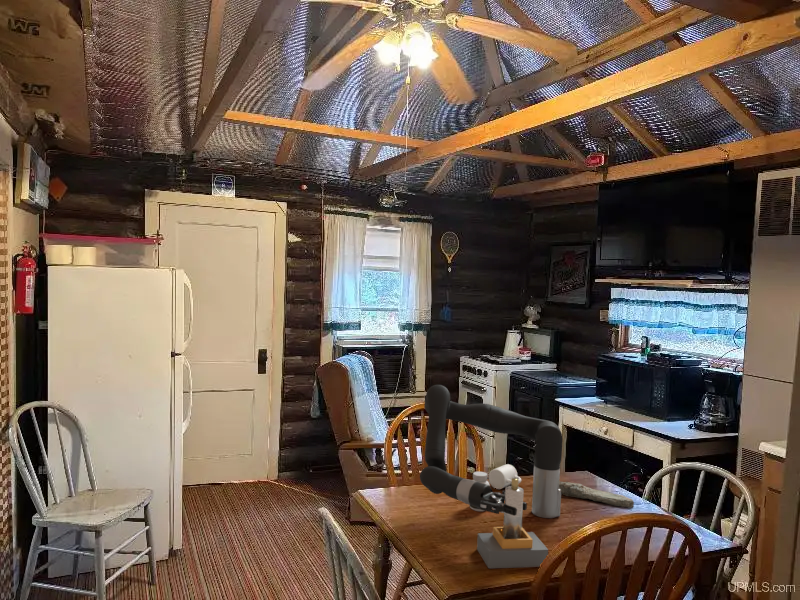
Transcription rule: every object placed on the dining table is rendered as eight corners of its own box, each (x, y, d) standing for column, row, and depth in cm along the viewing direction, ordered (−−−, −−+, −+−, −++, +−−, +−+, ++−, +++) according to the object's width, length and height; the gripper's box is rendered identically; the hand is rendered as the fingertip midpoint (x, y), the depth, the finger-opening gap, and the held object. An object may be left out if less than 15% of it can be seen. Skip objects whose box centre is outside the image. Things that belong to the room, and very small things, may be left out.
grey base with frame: (530, 545, 182) (531, 522, 181) (547, 566, 168) (548, 541, 168) (475, 546, 179) (476, 523, 179) (488, 568, 166) (489, 542, 165)
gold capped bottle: (517, 534, 176) (520, 476, 175) (523, 542, 170) (526, 482, 170) (500, 534, 175) (503, 476, 174) (506, 542, 170) (509, 482, 169)
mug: (487, 486, 234) (488, 467, 234) (500, 480, 242) (501, 462, 241) (513, 494, 226) (514, 474, 226) (526, 488, 234) (526, 469, 233)
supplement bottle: (479, 503, 215) (481, 469, 215) (492, 509, 210) (494, 475, 209) (465, 506, 211) (466, 472, 211) (478, 513, 206) (479, 478, 205)
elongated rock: (631, 515, 214) (634, 508, 223) (632, 501, 214) (636, 494, 223) (539, 490, 231) (545, 484, 240) (540, 477, 231) (547, 472, 240)
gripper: (461, 487, 176) (509, 503, 165) (487, 476, 187) (533, 491, 176) (460, 511, 177) (508, 528, 165) (486, 499, 187) (532, 515, 176)
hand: (521, 509), depth 171 cm, fingers closed on gold capped bottle, 5 cm apart
